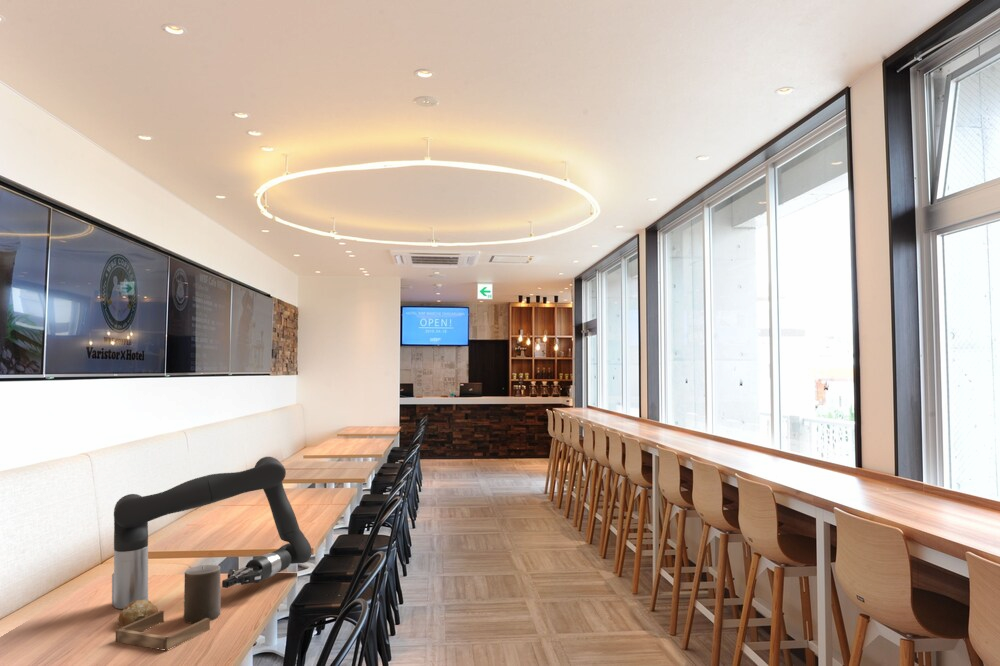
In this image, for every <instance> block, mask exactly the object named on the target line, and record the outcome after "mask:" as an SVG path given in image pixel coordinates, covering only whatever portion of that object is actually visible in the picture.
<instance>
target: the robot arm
mask: <svg viewBox="0 0 1000 666" xmlns="http://www.w3.org/2000/svg"><path fill="white" fill-rule="evenodd" d="M254 465H255V466H254V467H252V468H249V469H246V470H242V471H236V472H221V473H213V474H212V473H211V474H207V475H204V476H199V477H196V478H192V479H190V480H187V481H185V482H182V483H180V484H178V485H176V486H173V487H171V488H169V489H167V490H165V491H162V492H161V491H160V492H159V493H158V492H157V493H154V494H149V495H144V496H142V495H140V494H138V493H129V494H126V495H124V496H122V497H120V498H119V499H118V500H117V502H116V503H115V505H114V509H113V522H114V523H113V526H114V527H113V529H114V530H113V573H112V574H111V605H112V606H114V608H115V609H119V610H120V609H121V610H123V609H124V608H125V607H126V606H128V605H129V604H130V603H132V602H134V601H137V600H147V601H149V529H148V527H149V525H148V523H149V522H151V521H153V520H156V519H159V518H162V517H163V516H167V515H171V514H176V513H180V512H185V511H189V510H193V509H197V508H200V507H204V506H209V505H211V504H215V503H217V502H221V501H223V500H227V499H231V498H233V497H236V496H239V495H242V494H246V493H250V492H254V491H258V490H260V491H261V490H262V491H263V492H264V494H265V496H266V498H267V502H268V504H269V507H270V511H271V514H272V517H273V520H274V524H275V527H276V530H277V533H278V536H279V538H280V540H281V541H283V542H287V543H285V544H283V545H281V546H280V547H279V548H278V549H277V550H274V551H272V552H268V553H265V554H262V555H259V556H258V557H255V558H253V559H249V561H247V563H246V565H245V566H244V567H241V568H240V569H238V570H234V569H231V568H230V569H229V570H228V572H227V578H225V579H223V580H222V581H221V587H222V588H223V589H224V588H225V589H228V588H230V587H232V586H234V585H235V586H238V585H241V586H243V585H248V584H253V583H254V584H258V583H260V582H263V581H264V580H267V579H269V578H271V577H273V576H275V575H276V574H277V573H281V572H282V571H284V570H287V568H289V566H290V565H292V564H293V565H294V564H295V565H296V564H305V563H307V562H308V561H310V559H311V557H312V546H311V544H310V542H309V540H308V539H307V537H306V536H305V535H304V533H303V531H302V530H301V528H300V525H299V523H298V520H297V517H296V514H295V511H294V509H293V507H292V505H291V501H289V499H288V496H287V493H286V491H285V488H284V485H283V482H284V479H285V478H286V474H287V473H286V468H285V466H284V465H283V463H282V462H281V461H279V460H278V459H277V458H275V457H273V456H264V457H262V458H260V459H258V461H257V462H256V463H255V464H254Z"/></svg>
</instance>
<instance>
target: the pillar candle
mask: <svg viewBox="0 0 1000 666" xmlns="http://www.w3.org/2000/svg"><path fill="white" fill-rule="evenodd" d="M183 589H184V593H183V594H184V600H183V604H184V605H183V607H184V609H183V620H184V621H185V622H186V623H188V622H191V623H190V624H195V623H197V622H199V621H201V620H203V619H205V618H210V621H212V620H215V619H217V618H219V617H220V616H221V566H220V565H218V564H205V565H203V564H202V565H197V566H192V567H189V568H187V569H186V570H185V571H184V588H183ZM219 615H220V616H219ZM218 616H219V617H218Z"/></svg>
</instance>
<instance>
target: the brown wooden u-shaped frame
mask: <svg viewBox="0 0 1000 666" xmlns="http://www.w3.org/2000/svg"><path fill="white" fill-rule="evenodd" d="M164 615H165V612H164V610H158V612H156V613H154V614H152V615H150V616H147V617H145V618H143V619H140V620H138V621H136V622H133V623H131V624H129V625H127V626H124V627H120V628H118V629H115V642H116V643H122V644H126V645H131V644H132V646H136V645H138V647H142V646H143V647H142V648H147V647H152V648H159V649H165V650H168V649H170V648H172V647H174V646H176V647H178V646H180V645H182V644H183V642H184V643H186V642H188V641H190V640H192V639H194V638H196V637H198V636H200V635H201V633H202V634H203V632H204V633H205V632H207V631H209V630H211V625H210V624H211V622H210V621H211V620H210V618H205V619H203V620H201V621H199V622H197V623H192V624H191V625H189V626H186V627H185V628H183V629H181V630H179V631H177V632H174V633H172V634H170V635H168V636H166V635H158V634H155V633H154V634H152V633H146V632H144V630H145V631H147V630H149V629H151V628H153V627H156V626H157V624H158V625H159V623H160V624H162V623H164V622H165V619H164ZM155 625H156V626H155ZM150 627H151V628H150ZM148 628H149V629H148ZM146 629H147V630H146ZM199 634H200V635H199ZM195 636H196V637H195ZM193 637H194V638H193ZM191 638H192V639H191ZM189 639H190V640H189ZM187 640H188V641H187ZM185 641H186V642H185ZM181 643H182V644H181ZM179 644H180V645H179ZM177 645H178V646H177ZM152 648H151V649H152ZM174 648H175V647H174ZM172 649H173V648H172ZM170 650H171V649H170ZM168 651H169V650H168Z"/></svg>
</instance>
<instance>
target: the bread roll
mask: <svg viewBox="0 0 1000 666" xmlns="http://www.w3.org/2000/svg"><path fill="white" fill-rule="evenodd" d="M156 612H159V609H158V607H157V605H156V604H154V603H153V602H151V600H148V601H147V600H137V601H134V602H132V603H130V604H129V605H128V606H126V607H125V608H124V609H122V611H121V612H120V613H119V614H118V617H117V622H118V625H119V626H120V628H122V627H124V626H127V625H129V624H131V623H133V622H136V621H138V620H140V619H143V618H145V617H147V616H150V615H152V614H154V613H156Z"/></svg>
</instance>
